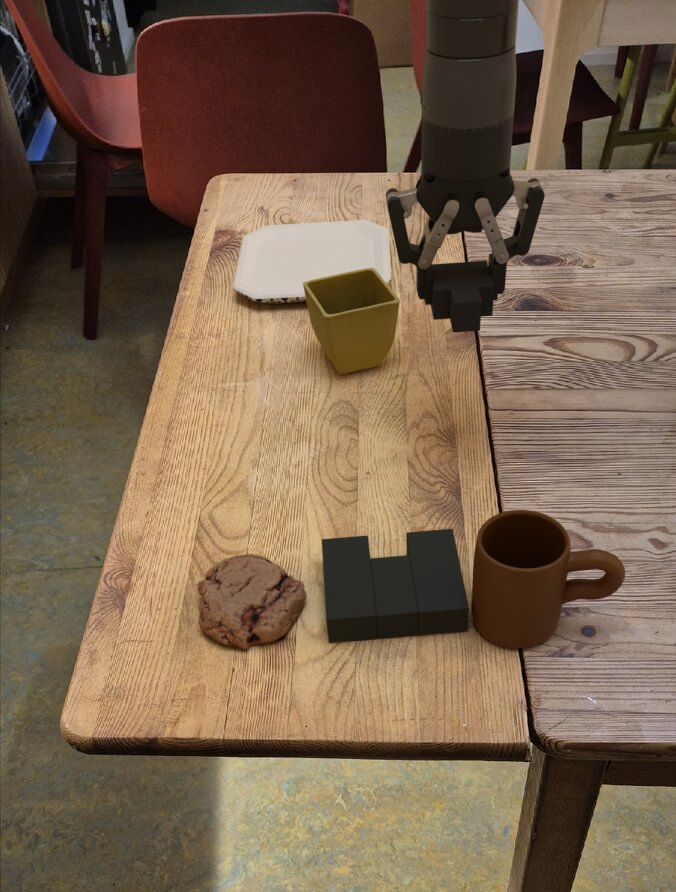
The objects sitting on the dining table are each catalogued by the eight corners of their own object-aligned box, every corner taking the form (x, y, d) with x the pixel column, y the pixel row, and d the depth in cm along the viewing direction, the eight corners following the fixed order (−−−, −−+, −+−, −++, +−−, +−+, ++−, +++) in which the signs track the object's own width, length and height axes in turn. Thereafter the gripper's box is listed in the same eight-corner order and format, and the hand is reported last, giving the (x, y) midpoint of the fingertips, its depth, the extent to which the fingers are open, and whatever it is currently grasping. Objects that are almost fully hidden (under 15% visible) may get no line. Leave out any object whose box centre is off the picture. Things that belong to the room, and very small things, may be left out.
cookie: (262, 551, 88) (258, 528, 86) (327, 614, 82) (325, 590, 80) (171, 600, 84) (165, 577, 82) (233, 670, 78) (228, 647, 76)
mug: (615, 603, 81) (633, 522, 74) (607, 669, 76) (626, 589, 69) (479, 581, 84) (484, 501, 77) (462, 643, 79) (466, 564, 72)
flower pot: (376, 334, 114) (373, 265, 107) (402, 370, 108) (401, 299, 101) (308, 351, 112) (301, 281, 106) (331, 388, 106) (325, 317, 100)
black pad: (484, 289, 90) (486, 260, 88) (496, 330, 85) (498, 299, 82) (428, 293, 90) (428, 264, 88) (436, 334, 85) (437, 303, 83)
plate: (389, 232, 132) (388, 217, 131) (392, 306, 118) (391, 290, 117) (246, 240, 134) (244, 225, 132) (232, 314, 119) (229, 298, 118)
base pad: (452, 552, 86) (452, 528, 84) (467, 631, 80) (469, 608, 77) (324, 562, 87) (321, 538, 84) (328, 643, 80) (326, 619, 78)
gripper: (382, 130, 73) (387, 324, 85) (565, 117, 73) (543, 313, 85) (376, 97, 78) (381, 285, 90) (547, 85, 78) (529, 274, 90)
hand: (460, 298), depth 88 cm, fingers closed on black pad, 5 cm apart
